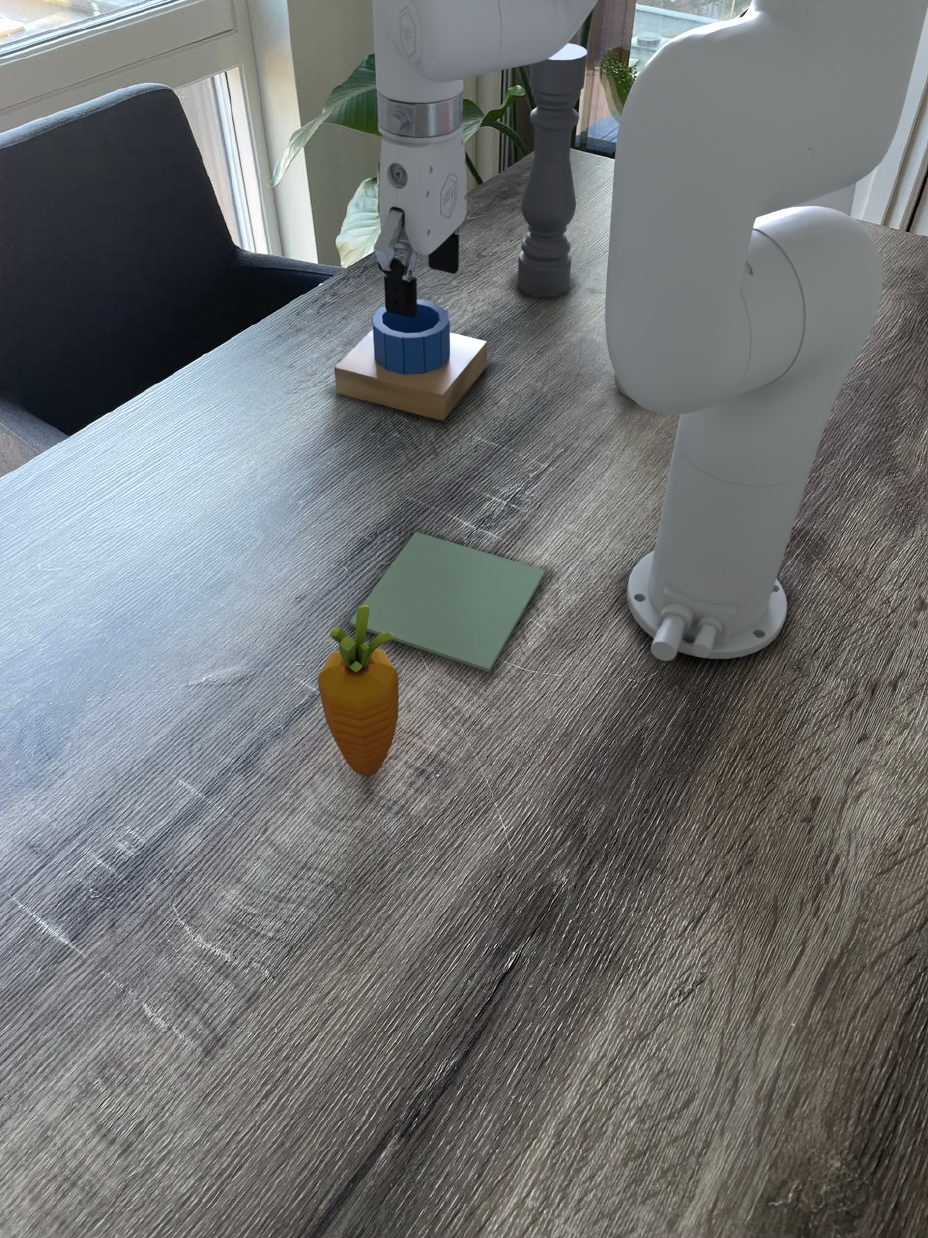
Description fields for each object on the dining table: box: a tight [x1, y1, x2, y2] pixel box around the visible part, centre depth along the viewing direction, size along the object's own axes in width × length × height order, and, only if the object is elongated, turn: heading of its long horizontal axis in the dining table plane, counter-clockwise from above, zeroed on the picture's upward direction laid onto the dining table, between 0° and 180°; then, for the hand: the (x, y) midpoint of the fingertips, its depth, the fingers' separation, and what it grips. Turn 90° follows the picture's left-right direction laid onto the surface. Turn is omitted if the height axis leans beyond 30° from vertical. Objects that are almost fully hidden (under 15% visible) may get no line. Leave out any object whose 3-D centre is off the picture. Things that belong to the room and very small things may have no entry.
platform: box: [333, 328, 488, 422], centre depth 103 cm, size 11×12×3 cm
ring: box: [371, 299, 451, 374], centre depth 100 cm, size 8×8×4 cm
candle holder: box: [516, 42, 588, 298], centre depth 109 cm, size 6×6×25 cm
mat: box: [348, 531, 546, 673], centre depth 81 cm, size 12×12×1 cm
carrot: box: [317, 604, 400, 778], centre depth 63 cm, size 5×5×15 cm
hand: (423, 291), depth 100 cm, fingers open, 9 cm apart
